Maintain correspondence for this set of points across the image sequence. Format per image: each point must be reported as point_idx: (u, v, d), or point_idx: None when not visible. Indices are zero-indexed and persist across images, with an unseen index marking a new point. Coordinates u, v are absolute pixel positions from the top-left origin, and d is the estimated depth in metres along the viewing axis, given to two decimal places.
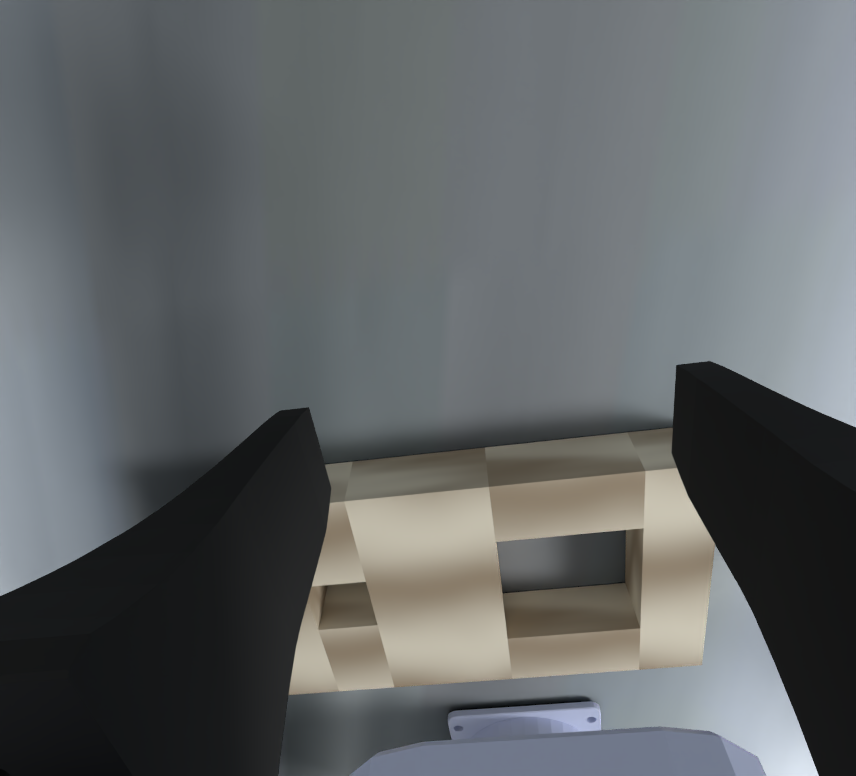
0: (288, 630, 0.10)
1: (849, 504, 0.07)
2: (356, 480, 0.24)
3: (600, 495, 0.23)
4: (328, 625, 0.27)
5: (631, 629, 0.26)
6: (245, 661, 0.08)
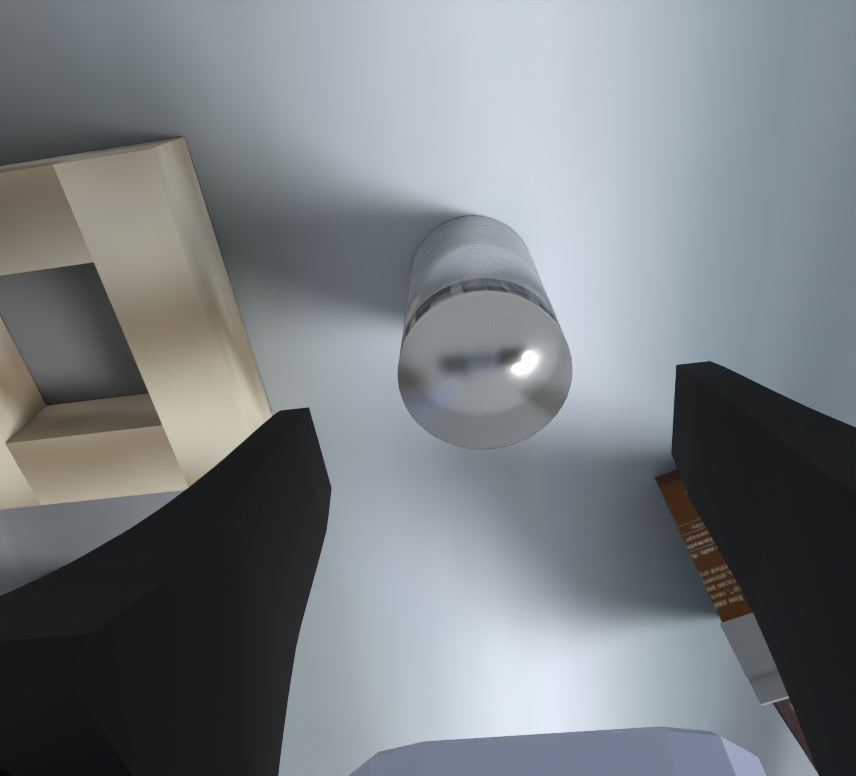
0: (288, 630, 0.10)
1: (849, 504, 0.07)
2: None
3: (12, 207, 0.17)
4: None
5: (152, 427, 0.20)
6: (245, 661, 0.08)
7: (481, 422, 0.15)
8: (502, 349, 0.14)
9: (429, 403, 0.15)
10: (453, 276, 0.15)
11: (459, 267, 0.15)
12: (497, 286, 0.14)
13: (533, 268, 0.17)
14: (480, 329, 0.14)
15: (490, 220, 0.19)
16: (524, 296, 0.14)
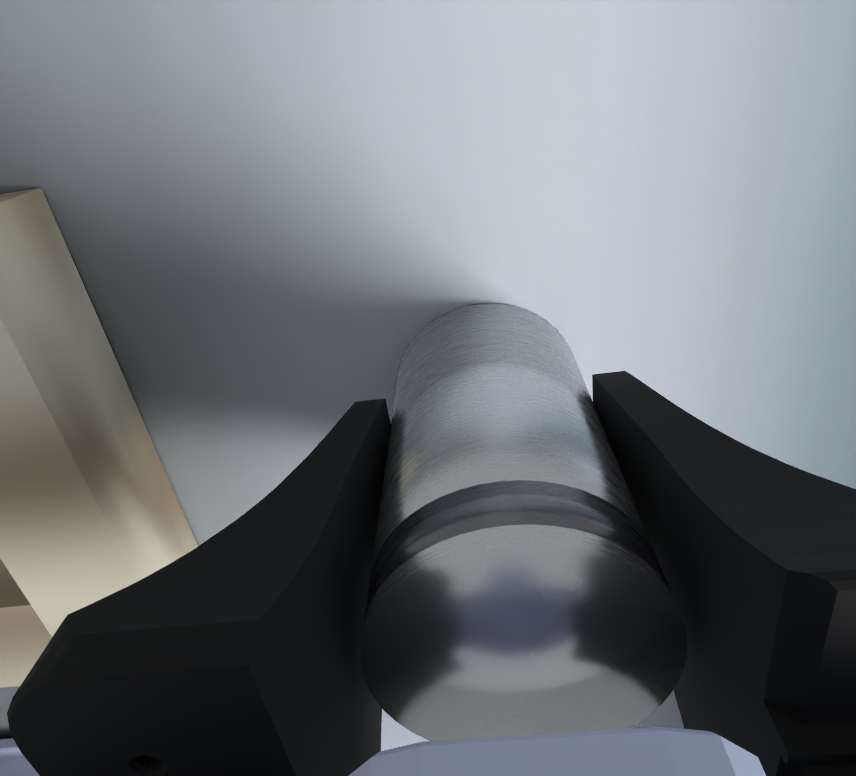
0: None
1: (704, 518, 0.07)
2: None
3: None
4: None
5: (16, 607, 0.14)
6: (354, 652, 0.08)
7: (513, 723, 0.08)
8: (557, 625, 0.07)
9: (419, 697, 0.08)
10: (464, 463, 0.08)
11: (473, 439, 0.09)
12: (547, 507, 0.07)
13: (591, 409, 0.10)
14: (516, 595, 0.07)
15: (516, 313, 0.12)
16: (601, 529, 0.07)
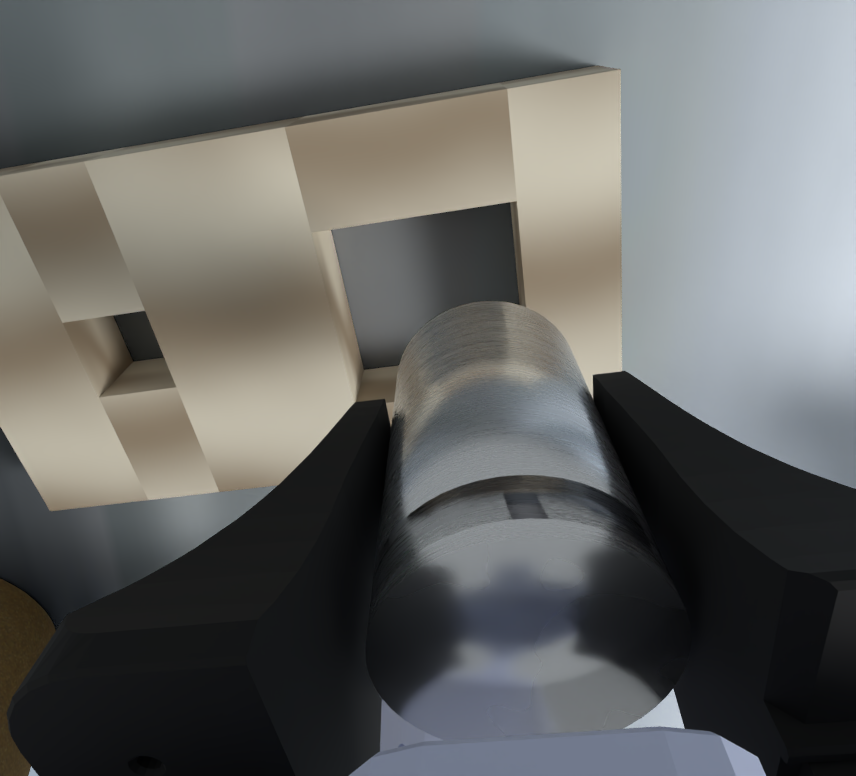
0: None
1: (704, 517, 0.07)
2: (116, 152, 0.17)
3: (447, 139, 0.16)
4: (114, 392, 0.20)
5: None
6: (354, 652, 0.08)
7: (520, 718, 0.08)
8: (561, 618, 0.07)
9: (425, 694, 0.08)
10: (464, 460, 0.08)
11: (473, 435, 0.09)
12: (548, 500, 0.07)
13: (590, 403, 0.10)
14: (519, 589, 0.07)
15: (513, 309, 0.12)
16: (602, 522, 0.07)
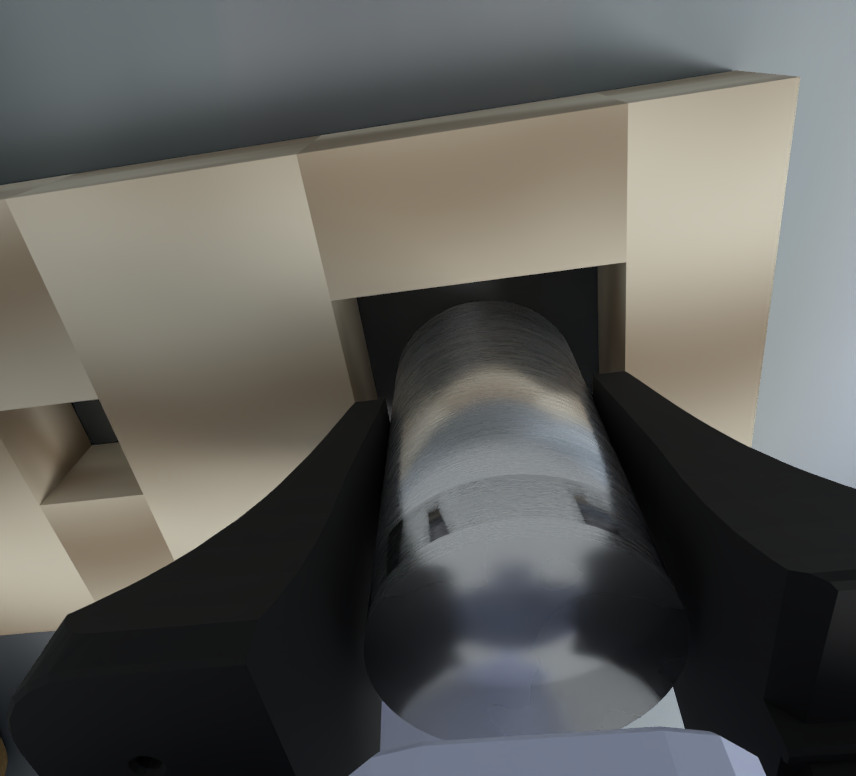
0: None
1: (704, 517, 0.07)
2: (58, 183, 0.12)
3: (533, 175, 0.11)
4: (60, 497, 0.15)
5: None
6: (354, 652, 0.08)
7: (518, 717, 0.08)
8: (559, 618, 0.07)
9: (424, 693, 0.08)
10: (462, 460, 0.08)
11: (471, 434, 0.09)
12: (546, 501, 0.07)
13: (589, 403, 0.10)
14: (517, 589, 0.07)
15: (512, 309, 0.12)
16: (600, 521, 0.07)
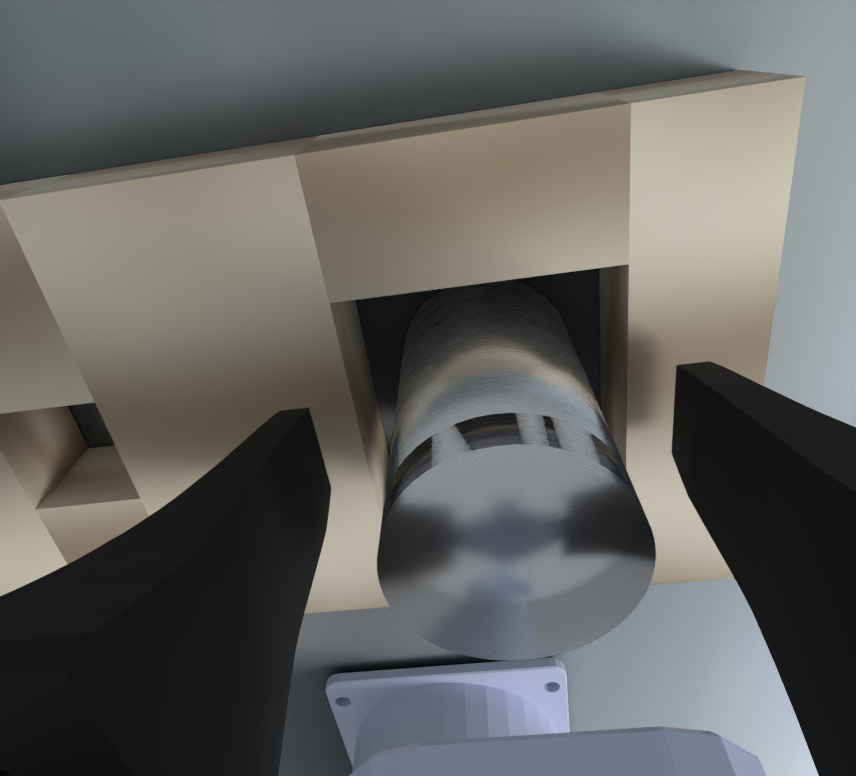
0: (288, 630, 0.10)
1: (849, 504, 0.07)
2: (53, 184, 0.12)
3: (534, 176, 0.11)
4: (56, 502, 0.15)
5: None
6: (245, 661, 0.08)
7: (510, 626, 0.10)
8: (543, 532, 0.09)
9: (428, 604, 0.09)
10: (462, 403, 0.09)
11: (470, 384, 0.10)
12: (532, 432, 0.08)
13: (576, 363, 0.12)
14: (508, 505, 0.08)
15: (510, 284, 0.14)
16: (578, 449, 0.08)
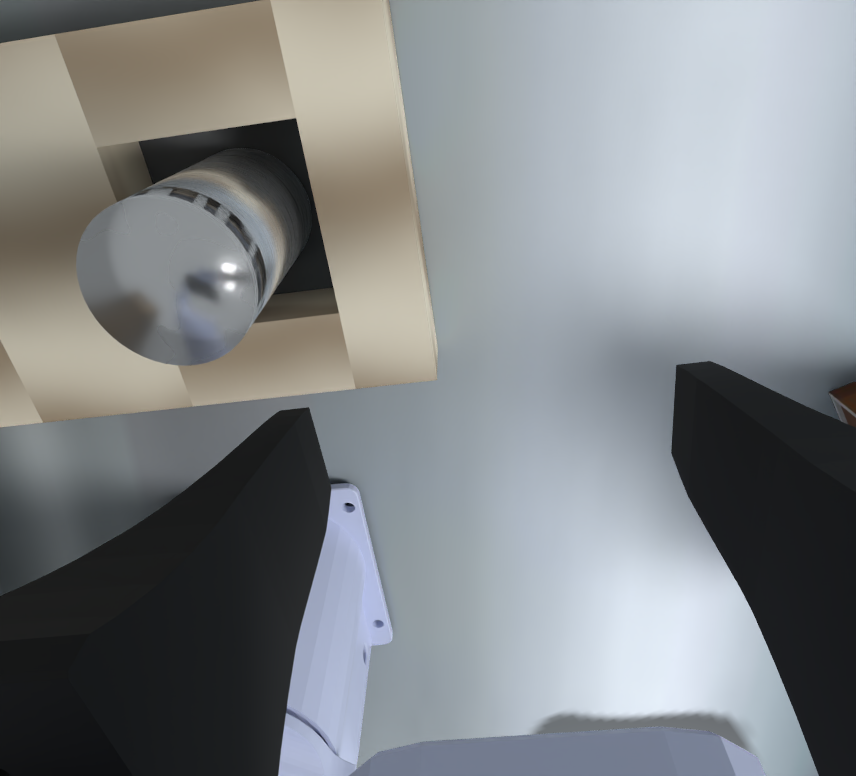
0: (288, 630, 0.10)
1: (849, 504, 0.07)
2: None
3: (217, 51, 0.16)
4: None
5: (327, 315, 0.19)
6: (245, 661, 0.08)
7: (177, 336, 0.15)
8: (175, 256, 0.14)
9: (120, 316, 0.14)
10: (145, 188, 0.14)
11: (159, 181, 0.15)
12: (166, 191, 0.14)
13: (268, 191, 0.17)
14: (147, 235, 0.13)
15: (252, 151, 0.19)
16: (193, 201, 0.13)
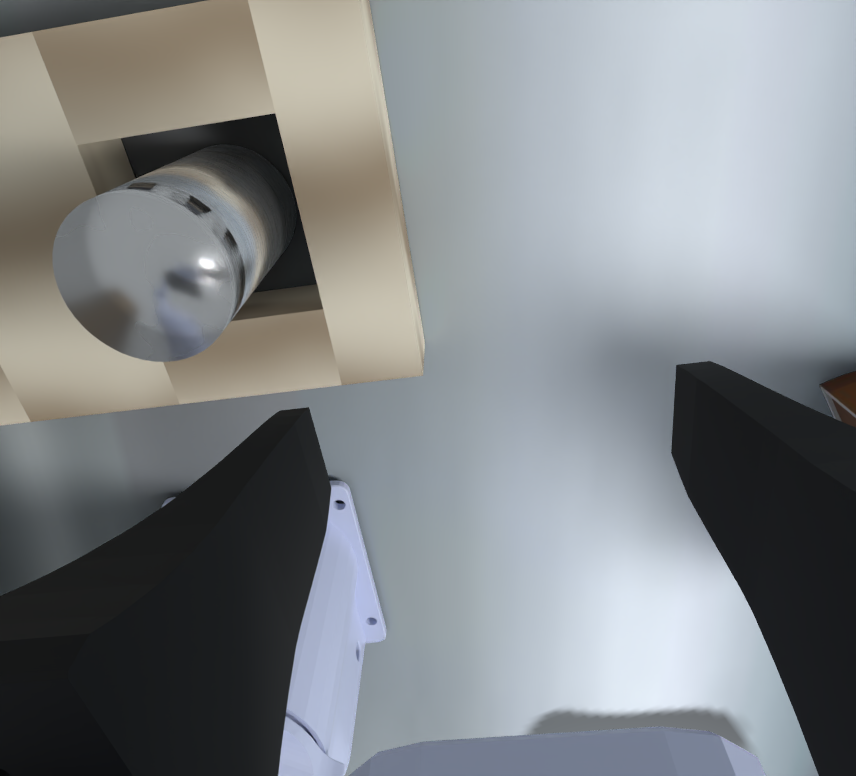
0: (288, 630, 0.10)
1: (849, 504, 0.07)
2: None
3: (195, 47, 0.16)
4: None
5: (311, 311, 0.19)
6: (245, 661, 0.08)
7: (155, 332, 0.15)
8: (151, 251, 0.14)
9: (97, 313, 0.14)
10: None
11: (137, 178, 0.15)
12: (142, 187, 0.14)
13: (248, 186, 0.17)
14: (122, 230, 0.13)
15: (235, 147, 0.19)
16: (168, 196, 0.13)
